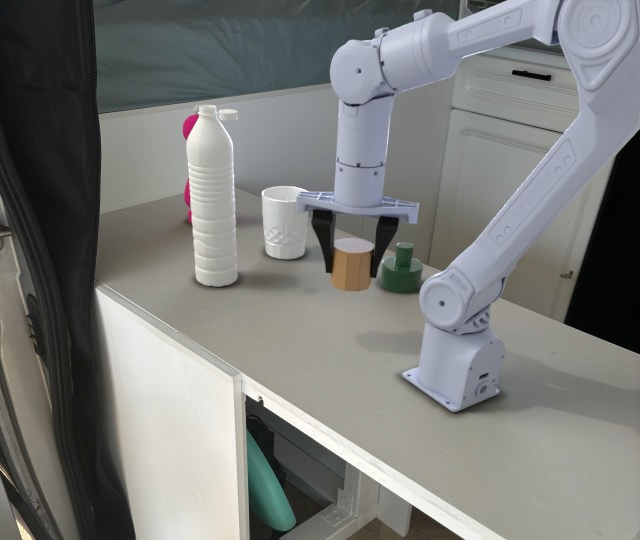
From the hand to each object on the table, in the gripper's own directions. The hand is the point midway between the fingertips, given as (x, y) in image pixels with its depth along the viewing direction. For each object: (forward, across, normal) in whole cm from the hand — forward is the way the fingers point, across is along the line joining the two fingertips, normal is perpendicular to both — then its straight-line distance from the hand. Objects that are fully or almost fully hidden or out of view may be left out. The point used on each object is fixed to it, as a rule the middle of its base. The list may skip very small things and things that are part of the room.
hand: (352, 272), depth 83 cm
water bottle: (+10, +22, -14) cm, 28 cm away
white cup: (+10, +14, -28) cm, 33 cm away
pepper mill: (+10, +32, -39) cm, 51 cm away
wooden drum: (+1, 0, 0) cm, 1 cm away
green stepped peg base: (+10, -6, -20) cm, 23 cm away
